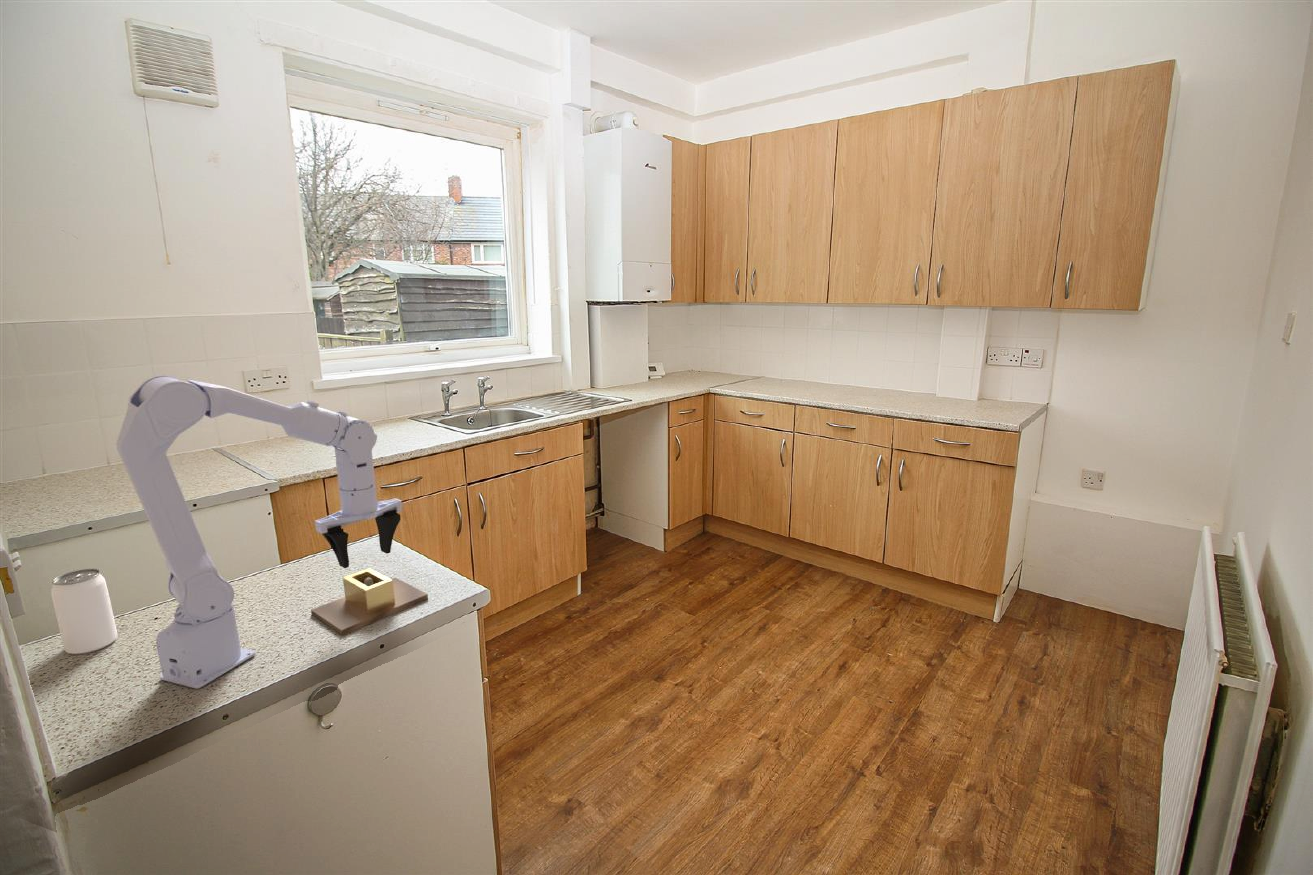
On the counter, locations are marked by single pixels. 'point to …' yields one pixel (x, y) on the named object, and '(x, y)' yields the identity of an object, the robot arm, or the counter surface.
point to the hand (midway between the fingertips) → (365, 558)
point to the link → (369, 591)
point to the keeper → (352, 618)
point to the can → (83, 611)
